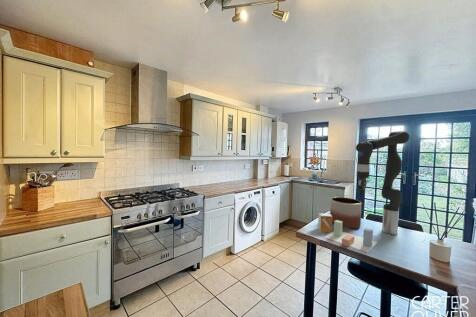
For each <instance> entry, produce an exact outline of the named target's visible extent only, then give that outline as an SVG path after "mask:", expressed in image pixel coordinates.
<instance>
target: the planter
mask: <svg viewBox="0 0 476 317" xmlns="http://www.w3.org/2000/svg"><path fill="white" fill-rule="evenodd" d="M329 214H330V215H331V216H333V218H332V225H334V221H336V220H338V221H342V222H343V224H342V228H346V229H349V230H355V229H358V228H361V223H362V222H361V220H362V201H361V200H358V199H356V198H355V199H354V198H351V197H345V196H344V197H343V196H341V197H340V196H335V197H331V198H330V211H329Z"/></svg>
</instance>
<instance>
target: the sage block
mask: <svg viewBox="0 0 476 317" xmlns="http://www.w3.org/2000/svg"><path fill="white" fill-rule="evenodd" d="M342 224H343V222H342V221H338V220H336V221H334V224H333V231H334V236H337V237H341V236H342V232H343V227H342Z"/></svg>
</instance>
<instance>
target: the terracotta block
mask: <svg viewBox="0 0 476 317" xmlns="http://www.w3.org/2000/svg"><path fill="white" fill-rule="evenodd" d="M349 234H350V233H349ZM349 234H347V235H346V236H345V237H343V238H342V243H341V245H342V246H345V247H347V248H348V247H351V246H350V245H351V244H353V243H354V236H353V235H354V234H352V235H349Z"/></svg>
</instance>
